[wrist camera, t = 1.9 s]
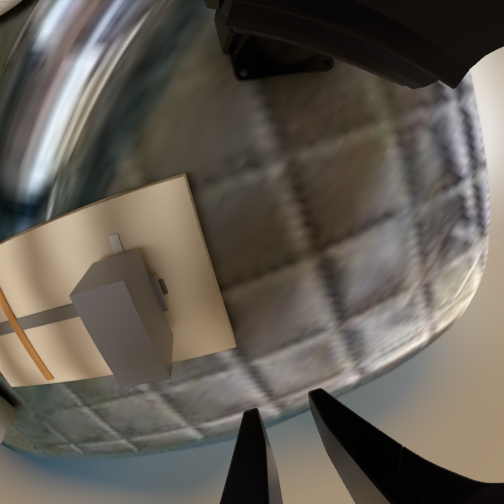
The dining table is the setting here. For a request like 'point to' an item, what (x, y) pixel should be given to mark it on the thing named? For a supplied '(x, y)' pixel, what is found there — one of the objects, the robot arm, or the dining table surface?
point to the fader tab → (126, 318)
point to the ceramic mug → (5, 417)
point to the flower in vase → (7, 5)
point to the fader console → (78, 262)
